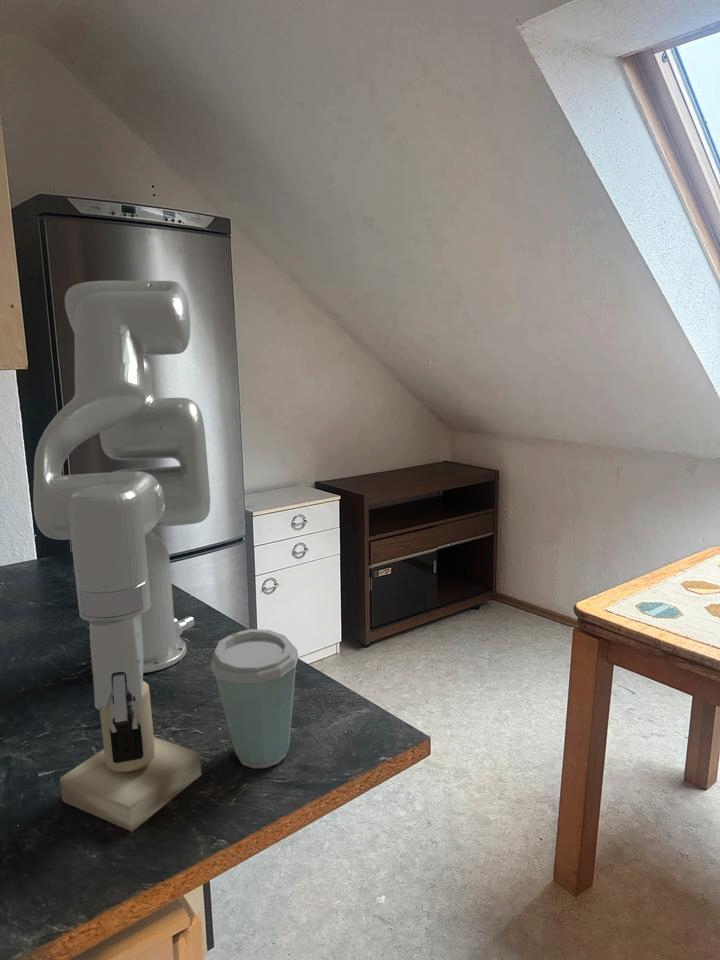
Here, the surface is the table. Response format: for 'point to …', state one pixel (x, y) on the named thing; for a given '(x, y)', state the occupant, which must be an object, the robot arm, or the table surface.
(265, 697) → the disposable coffee cup
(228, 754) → the table surface
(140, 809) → the plinth
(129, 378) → the robot arm
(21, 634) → the table surface
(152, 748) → the candle
